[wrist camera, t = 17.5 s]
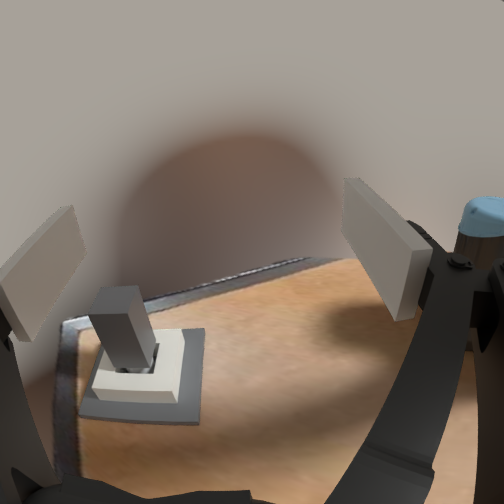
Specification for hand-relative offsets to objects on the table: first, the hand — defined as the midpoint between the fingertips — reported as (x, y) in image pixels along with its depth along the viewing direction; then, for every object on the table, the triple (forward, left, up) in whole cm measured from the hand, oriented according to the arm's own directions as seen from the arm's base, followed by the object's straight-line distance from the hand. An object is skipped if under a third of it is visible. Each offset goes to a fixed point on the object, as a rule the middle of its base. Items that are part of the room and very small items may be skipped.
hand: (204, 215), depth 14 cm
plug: (+1, -22, -31) cm, 38 cm away
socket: (+1, -22, -32) cm, 39 cm away
